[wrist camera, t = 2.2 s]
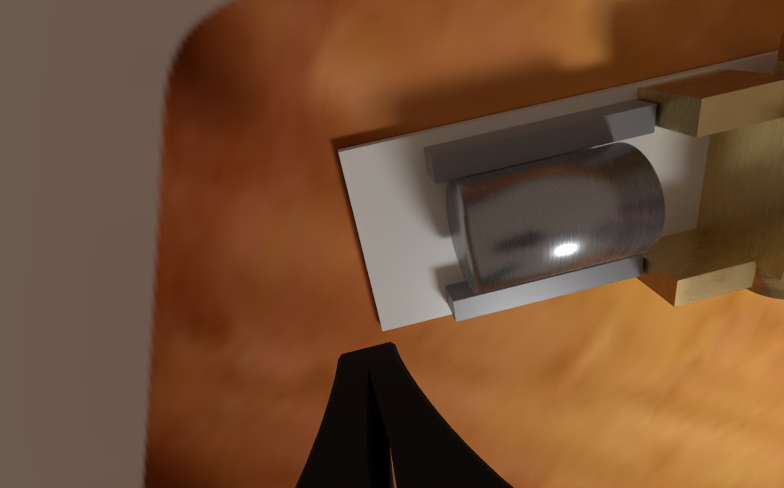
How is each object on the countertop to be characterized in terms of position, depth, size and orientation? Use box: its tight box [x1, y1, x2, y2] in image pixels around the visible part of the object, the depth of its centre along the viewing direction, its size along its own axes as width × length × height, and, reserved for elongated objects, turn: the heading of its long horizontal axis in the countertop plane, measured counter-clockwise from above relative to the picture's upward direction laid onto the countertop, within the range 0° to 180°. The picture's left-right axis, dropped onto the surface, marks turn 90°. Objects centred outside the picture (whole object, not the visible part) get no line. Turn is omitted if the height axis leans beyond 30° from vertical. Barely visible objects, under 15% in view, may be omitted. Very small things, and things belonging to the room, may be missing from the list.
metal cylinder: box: [446, 142, 665, 294], centre depth 15 cm, size 4×6×4 cm, turn 101°
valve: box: [636, 34, 784, 307], centre depth 16 cm, size 10×8×5 cm
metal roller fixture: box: [338, 50, 779, 331], centre depth 17 cm, size 8×19×2 cm, turn 101°
